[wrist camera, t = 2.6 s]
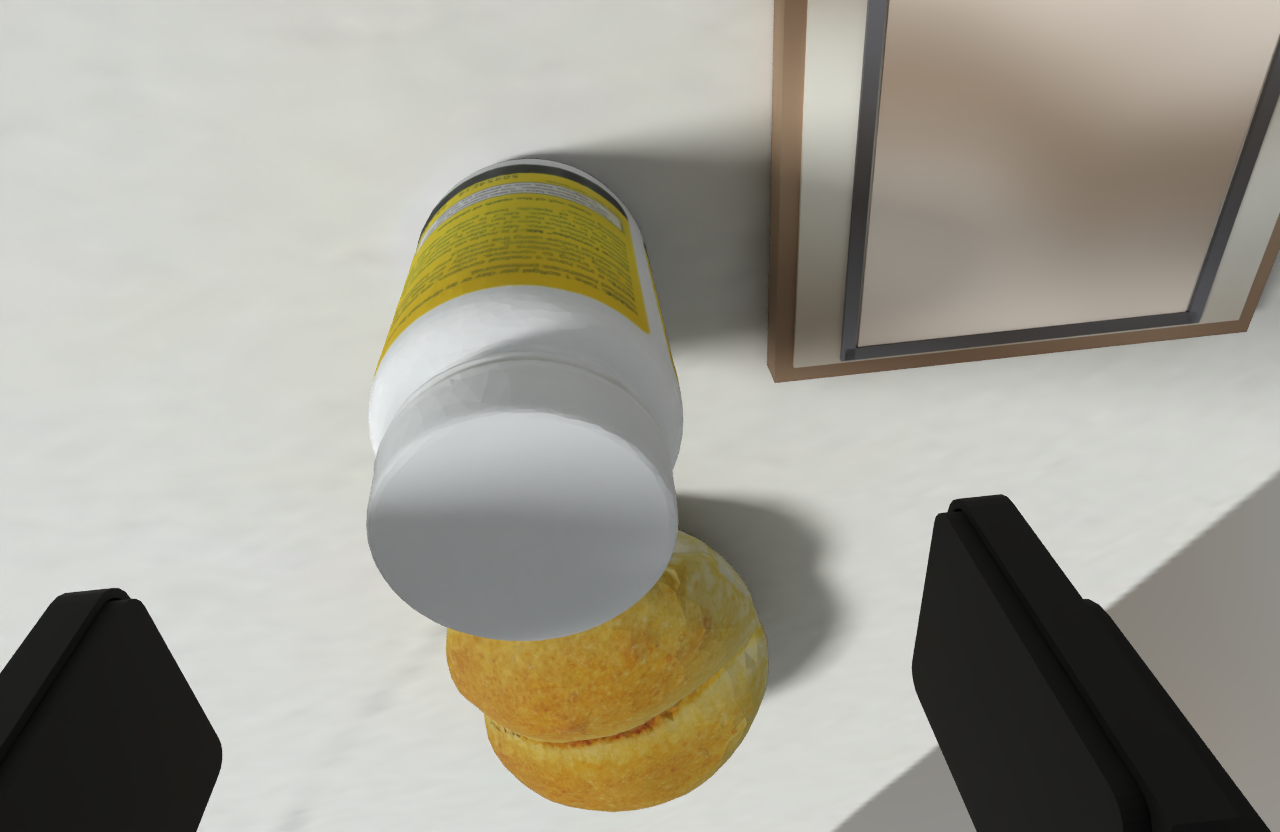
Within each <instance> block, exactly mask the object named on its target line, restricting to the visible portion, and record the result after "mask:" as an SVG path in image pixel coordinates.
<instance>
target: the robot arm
mask: <svg viewBox="0 0 1280 832" xmlns="http://www.w3.org/2000/svg"><path fill="white" fill-rule="evenodd" d="M912 676H913V682H914V686H915V690H916V693H917V695H918V698H919V700H920V702H921V705H922V707H923V709H924V712H925V714H926V716H927V718H928V721H929V723H930V725H931V728H932V730H933V732H934V734H935V737H936V739H937V741H938V744H939V746H940V748H941V751H942V753H943V755H944V757H945V760H946V762H947V764H948V767H949V769H950V771H951V773H952V776H953V778H954V780H955V783H956V785H957V787H958V790H959V792H960V794H961V796H962V799H963V801H964V803H965V806H966V808H967V810H968V812H969V815H970V817H971V819H972V822H973V824H974V826H975V829H976V831H977V832H1271V831H1270V830H1269V828H1268V827H1267V826H1266V824H1265V823H1264V822H1263V820H1262V819H1261V818H1260V817H1259V816H1258V814H1257V812H1256V811H1255V810H1254V809H1253V807H1252V806H1251V805H1250V803H1249V802H1248V800H1247V799H1246V798H1245V796H1244V795H1243V794H1242V792H1241V791H1240V790H1239V788H1238V787H1237V786H1236V784H1235V783H1234V782H1233V780H1232V779H1231V778H1230V776H1229V775H1228V774H1227V772H1226V771H1225V770H1224V768H1223V767H1222V766H1221V764H1220V763H1219V762H1218V760H1217V759H1216V758H1215V756H1214V755H1213V754H1212V752H1211V751H1210V750H1209V748H1208V747H1207V746H1206V745H1205V743H1204V742H1203V740H1202V739H1201V738H1200V736H1199V735H1198V734H1197V732H1196V731H1195V730H1194V728H1193V727H1192V726H1191V724H1190V723H1189V722H1188V720H1187V719H1186V717H1185V716H1184V715H1183V714H1182V712H1181V711H1180V710H1179V708H1178V707H1177V705H1176V704H1175V703H1174V701H1173V700H1172V699H1171V697H1170V696H1169V695H1168V693H1167V692H1166V691H1165V689H1164V688H1163V687H1162V685H1161V684H1160V683H1159V681H1158V680H1157V679H1156V677H1155V676H1154V675H1153V673H1152V672H1151V671H1150V669H1149V668H1148V667H1147V665H1146V664H1145V663H1144V661H1143V660H1142V659H1141V657H1140V656H1139V655H1138V653H1137V652H1136V651H1135V649H1134V648H1133V647H1132V645H1131V644H1130V643H1129V641H1128V640H1127V639H1126V637H1125V636H1124V635H1123V633H1122V632H1121V631H1120V629H1119V628H1118V627H1117V625H1116V624H1115V623H1114V621H1113V620H1112V619H1111V617H1110V616H1109V615H1108V614H1107V613H1106V612H1105V611H1104V609H1103V608H1102V607H1101V606H1100V605H1099V604H1097V603H1095V602H1093V601H1091V600H1089V599H1082V597H1081V596H1080V594H1079V593H1078V592H1077V590H1076V589H1075V588H1074V586H1073V585H1072V583H1071V582H1070V581H1069V579H1068V578H1067V577H1066V575H1065V574H1064V572H1063V571H1062V570H1061V568H1060V567H1059V566H1058V564H1057V563H1056V561H1055V560H1054V559H1053V557H1052V556H1051V555H1050V553H1049V552H1048V550H1047V549H1046V548H1045V546H1044V545H1043V544H1042V542H1041V541H1040V539H1039V538H1038V537H1037V535H1036V534H1035V533H1034V531H1033V530H1032V528H1031V527H1030V526H1029V524H1028V523H1027V522H1026V520H1025V519H1024V517H1023V516H1022V515H1021V513H1020V512H1019V511H1018V509H1017V508H1016V506H1015V505H1014V504H1013V502H1012V501H1011V500H1010V499H1009V498H1008V497H1007V496H1004V495H1002V494H1000V495H991V496H981V497H972V498H962V499H956V500H953V501H952V502H951V504H950V506H949V509H948V512H947V513H940V514H938V515H937V516H936V518H935V522H934V528H933V534H932V540H931V547H930V553H929V559H928V566H927V572H926V578H925V585H924V591H923V597H922V604H921V610H920V616H919V622H918V629H917V635H916V641H915V648H914V654H913V660H912ZM221 764H222V747H221V743H220V740H219V738H218V736H217V734H216V733H215V731H214V729H213V727H212V725H211V724H210V722H209V720H208V718H207V716H206V715H205V713H204V711H203V709H202V708H201V706H200V704H199V702H198V700H197V699H196V697H195V695H194V693H193V691H192V690H191V688H190V686H189V684H188V683H187V681H186V679H185V677H184V675H183V674H182V672H181V670H180V668H179V667H178V665H177V663H176V661H175V659H174V658H173V656H172V654H171V652H170V650H169V649H168V647H167V645H166V643H165V642H164V640H163V638H162V636H161V634H160V633H159V631H158V629H157V627H156V625H155V624H154V622H153V620H152V618H151V617H150V615H149V613H148V611H147V609H146V608H145V606H144V605H143V603H142V602H141V601H139V600H137V599H131V598H130V597H129V596H128V595H127V593H126V592H125V591H123V590H121V589H119V588H109V589H100V590H90V591H81V592H72V593H64V594H62V595H60V596H58V597H57V598H56V599H55V600H54V601H53V602H52V603H51V604H50V605H49V607H48V608H47V609H46V611H45V612H44V614H43V615H42V616H41V618H40V619H39V620H38V622H37V623H36V625H35V626H34V627H33V629H32V630H31V632H30V633H29V634H28V636H27V637H26V638H25V640H24V641H23V643H22V644H21V645H20V647H19V648H18V650H17V651H16V652H15V654H14V655H13V656H12V658H11V659H10V661H9V662H8V663H7V665H6V666H5V668H4V669H3V670H2V672H1V673H0V832H196V831H197V828H198V826H199V823H200V821H201V818H202V816H203V813H204V811H205V808H206V806H207V803H208V800H209V798H210V795H211V793H212V790H213V788H214V785H215V783H216V780H217V778H218V775H219V772H220V769H221Z"/></svg>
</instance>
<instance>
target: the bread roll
mask: <svg viewBox="0 0 1280 832" xmlns="http://www.w3.org/2000/svg"><path fill="white" fill-rule="evenodd" d="M446 655H447V663H448V667H449V671H450V674H451V677H452V680H453V681H454V683H455V685H456V687H457V688H458V690H459V692H460V693H461V694H462V695H463V696H464V697H465V698H466V699H467V700H469V701H470V702H471V703H472V704H474V705H475V706H476V707H478V708H479V709H480V710H481V711H482V712H483V713H484V717H485V724H486V728H487V733H488V738H489V741H490V743H491V745H492V748H493V750H494V752H495V753H496V755H497V756H498V758H499V759H500V761H501V762H502V764H503V765H504V766H505V767H506V768H507V769H508V770H509V771H510V772H511V773H512V774H513V775H514V776H515V777H516V778H517V779H518V780H519V781H521V782H522V783H523V784H524V785H525V786H527V787H528V788H530V789H531V790H533V791H534V792H536V793H538V794H539V795H541V796H542V797H544V798H546V799H548V800H550V801H552V802H556V803H559V804H563V805H566V806H569V807H575V808H581V809H587V810H596V811H608V812H618V811H630V810H638V809H643V808H648V807H652V806H656V805H659V804H662V803H666V802H668V801H671V800H673V799H675V798H678V797H680V796H683V795H685V794H687V793H689V792H691V791H692V790H694V789H695V788H697V787H698V786H700V785H701V784H703V783H704V782H705V781H707V780H708V779H709V778H710V777H711V776H712V775H714V773H715V772H716V771H717V770H718V769H719V768H720V767H721V766H722V765H723V764H724V763H725V762H726V761H727V760H728V759H729V758H730V757H731V755H732V754H733V753H734V751H735V750H736V749H737V747H738V746H739V745H740V744H741V742H742V741H743V739H744V737H745V736H746V734H747V733H748V731H749V729H750V727H751V724H752V722H753V720H754V718H755V716H756V714H757V712H758V710H759V707H760V704H761V702H762V699H763V697H764V694H765V690H766V685H767V678H768V670H769V662H768V646H767V637H766V634H765V632H764V629H763V627H762V625H761V623H760V620H759V618H758V614H757V611H756V609H755V606H754V604H753V601H752V597H751V594H750V592H749V590H748V588H747V586H746V584H745V583H744V581H743V580H742V579H741V577H740V576H739V575H738V573H737V572H736V571H735V570H734V568H733V567H732V566H731V565H730V564H729V563H728V562H727V561H726V560H725V559H724V558H723V557H722V556H721V555H720V554H718V553H717V552H715V551H714V550H712V549H711V548H710V547H708V546H707V545H706V544H705V543H704V542H702V541H701V540H699V539H697V538H695V537H693V536H691V535H688V534H686V533H684V532H682V531H680V530H678V534H677V539H676V544H675V547H674V550H673V553H672V556H671V559H670V561H669V563H668V565H667V567H666V569H665V571H664V572H663V574H662V576H661V577H660V578H659V580H658V581H657V582H656V584H655V585H654V586H653V587H652V588H651V589H650V590H649V591H648V593H647V594H645V595H644V596H643V597H642V598H641V599H640V600H639V601H638V602H637V603H635V604H634V605H633V606H631V607H630V608H629V609H627V610H626V611H624V612H623V613H621V614H620V615H618V616H616V617H615V618H613V619H611V620H609V621H607V622H605V623H603V624H601V625H599V626H596V627H593V628H591V629H589V630H586V631H583V632H580V633H576V634H573V635H569V636H565V637H559V638H553V639H546V640H539V641H505V640H495V639H489V638H483V637H478V636H474V635H470V634H466V633H463V632H459V631H456V630H453V629H451V628H448V627H447V640H446Z"/></svg>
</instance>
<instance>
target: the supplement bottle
mask: <svg viewBox="0 0 1280 832" xmlns="http://www.w3.org/2000/svg"><path fill="white" fill-rule="evenodd" d="M682 431H683V407H682V399H681V392H680V387H679V382H678V377H677V373H676V370H675V366H674V363H673V359H672V355H671V350H670V346H669V342H668V339H667V334H666V330H665V325H664V321H663V317H662V314H661V309H660V305H659V301H658V297H657V293H656V288H655V284H654V281H653V276H652V272H651V268H650V264H649V260H648V255H647V251H646V247H645V244H644V241H643V238H642V235H641V232H640V230H639V228H638V226H637V224H636V222H635V220H634V218H633V217H632V215H631V214H630V213H629V211H628V210H627V208H626V207H625V205H624V204H623V203H622V202H621V201H620V200H619V199H618V198H617V196H616V195H615V194H614V193H612V192H611V191H610V190H609V189H608V188H607V187H606V186H605V185H603V184H602V183H601V182H599V181H598V180H596V179H595V178H593V177H592V176H590V175H589V174H587V173H585V172H583V171H581V170H579V169H577V168H574V167H572V166H569V165H566V164H563V163H559V162H554V161H549V160H541V159H519V160H510V161H505V162H501V163H497V164H494V165H491V166H488V167H485V168H483V169H481V170H479V171H476V172H474V173H473V174H471V175H469V176H468V177H466V178H464V179H463V180H462V181H460V182H459V183H458V184H456V185H455V186H454V187H453V188H452V189H451V190H449V191H448V192H447V193H446V195H445V196H444V197H443V198H442V199H441V200H440V201H439V203H438V204H437V205H436V207H435V208H434V210H433V211H432V213H431V215H430V216H429V218H428V220H427V222H426V224H425V226H424V228H423V229H422V232H421V235H420V238H419V241H418V246H417V249H416V253H415V255H414V258H413V261H412V264H411V267H410V271H409V274H408V277H407V279H406V282H405V286H404V289H403V292H402V295H401V297H400V300H399V303H398V306H397V309H396V312H395V316H394V319H393V322H392V325H391V327H390V330H389V333H388V336H387V339H386V342H385V345H384V348H383V351H382V354H381V356H380V359H379V362H378V365H377V368H376V372H375V375H374V379H373V383H372V388H371V394H370V403H369V432H370V437H371V442H372V447H373V450H374V453H375V457H376V458H375V463H374V476H373V481H372V488H371V493H370V498H369V503H368V508H367V524H366V526H367V536H368V543H369V547H370V550H371V553H372V557H373V559H374V561H375V564H376V566H377V568H378V569H379V571H380V573H381V574H382V576H383V578H384V579H385V580H386V582H387V583H388V584H389V586H390V587H391V588H392V590H393V591H394V592H395V593H396V594H397V595H398V596H399V597H400V598H401V599H402V600H403V601H405V602H406V603H407V604H408V605H409V606H411V607H412V608H413V609H415V610H416V611H418V612H419V613H421V614H422V615H424V616H426V617H427V618H429V619H431V620H433V621H434V622H436V623H439V624H441V625H443V626H445V627H448V628H451V629H453V630H456V631H459V632H463V633H466V634H470V635H474V636H478V637H483V638H489V639H495V640H505V641H539V640H546V639H553V638H559V637H565V636H569V635H573V634H576V633H580V632H583V631H586V630H589V629H591V628H593V627H596V626H599V625H601V624H603V623H605V622H607V621H609V620H611V619H613V618H615V617H616V616H618V615H620V614H621V613H623V612H624V611H626V610H627V609H629V608H630V607H631V606H633V605H634V604H635V603H637V602H638V601H639V600H640V599H641V598H642V597H643V596H644V595H645V594H647V593H648V591H649V590H650V589H651V588H652V587H653V586H654V585H655V584H656V582H657V581H658V580H659V578H660V577H661V576H662V574H663V572H664V571H665V569H666V567H667V565H668V563H669V561H670V559H671V556H672V553H673V550H674V547H675V544H676V539H677V534H678V520H679V519H678V508H677V500H676V493H675V487H674V480H673V472H672V470H673V468H674V465H675V462H676V459H677V457H678V454H679V449H680V444H681V439H682Z"/></svg>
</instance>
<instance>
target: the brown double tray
mask: <svg viewBox="0 0 1280 832" xmlns="http://www.w3.org/2000/svg"><path fill="white" fill-rule="evenodd" d="M1279 248H1280V0H774V39H773V90H772V142H771V193H770V244H769V295H768V347H767V366H768V368H769V370H770V373H771V375H772V377H773V380H774V382H775V383H779V382H788V381H797V380H806V379H815V378H825V377H834V376H843V375H852V374H861V373H870V372H880V371H889V370H898V369H907V368H916V367H926V366H935V365H944V364H953V363H962V362H972V361H981V360H990V359H999V358H1008V357H1018V356H1027V355H1036V354H1045V353H1054V352H1063V351H1073V350H1082V349H1091V348H1100V347H1109V346H1119V345H1128V344H1137V343H1146V342H1155V341H1165V340H1174V339H1183V338H1192V337H1201V336H1211V335H1220V334H1229V333H1238V332H1247V329H1248V327H1249V324H1250V322H1251V319H1252V317H1253V314H1254V312H1255V309H1256V306H1257V304H1258V301H1259V299H1260V296H1261V294H1262V291H1263V289H1264V286H1265V284H1266V281H1267V278H1268V276H1269V273H1270V271H1271V268H1272V266H1273V263H1274V261H1275V258H1276V255H1277V253H1278V250H1279Z"/></svg>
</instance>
